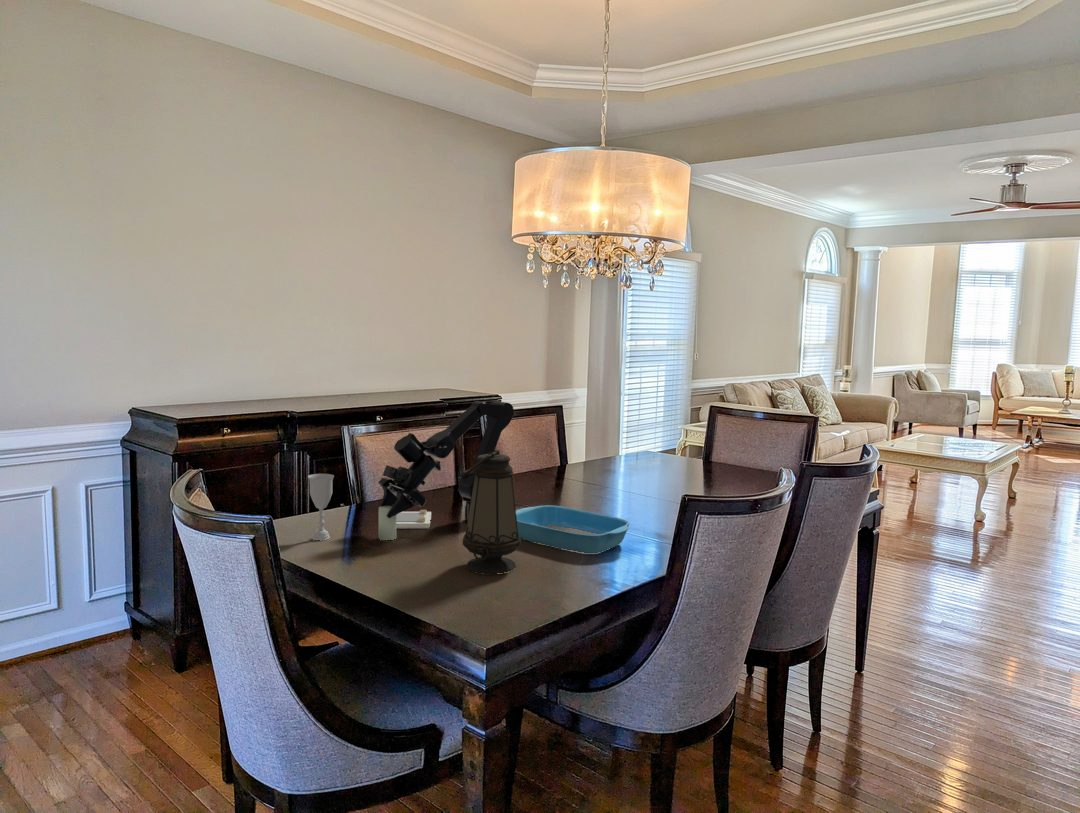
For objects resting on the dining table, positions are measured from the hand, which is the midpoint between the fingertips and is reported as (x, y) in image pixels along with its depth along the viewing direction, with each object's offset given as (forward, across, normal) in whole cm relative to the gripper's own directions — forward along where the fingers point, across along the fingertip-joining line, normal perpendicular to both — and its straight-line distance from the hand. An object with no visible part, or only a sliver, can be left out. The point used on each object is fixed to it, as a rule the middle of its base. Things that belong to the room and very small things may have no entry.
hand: (383, 515), depth 206 cm
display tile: (-5, -12, +16) cm, 20 cm away
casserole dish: (-25, +32, +36) cm, 54 cm away
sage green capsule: (+4, 0, +6) cm, 7 cm away
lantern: (-3, +37, +13) cm, 39 cm away
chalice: (+15, -10, -5) cm, 19 cm away
